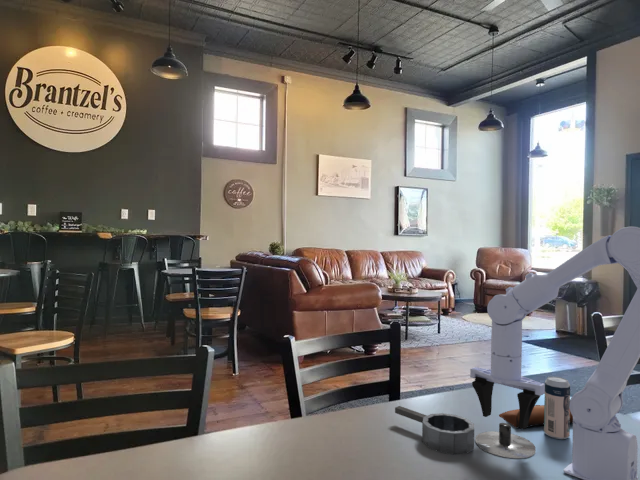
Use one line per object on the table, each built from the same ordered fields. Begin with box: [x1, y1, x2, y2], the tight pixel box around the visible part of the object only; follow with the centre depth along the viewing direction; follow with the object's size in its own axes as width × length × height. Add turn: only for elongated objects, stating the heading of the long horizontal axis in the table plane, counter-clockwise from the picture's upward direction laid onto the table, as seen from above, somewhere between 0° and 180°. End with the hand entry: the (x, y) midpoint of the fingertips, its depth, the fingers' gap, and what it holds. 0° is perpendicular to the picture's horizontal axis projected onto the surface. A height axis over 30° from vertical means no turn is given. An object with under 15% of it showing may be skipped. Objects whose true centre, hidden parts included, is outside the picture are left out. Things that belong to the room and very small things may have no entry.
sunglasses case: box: [498, 404, 573, 429], centre depth 104 cm, size 18×7×7 cm, turn 101°
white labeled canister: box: [543, 376, 571, 440], centre depth 96 cm, size 5×5×12 cm
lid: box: [474, 422, 537, 459], centre depth 91 cm, size 11×11×4 cm
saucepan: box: [394, 405, 475, 455], centre depth 95 cm, size 18×10×4 cm, turn 42°
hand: (504, 421), depth 91 cm, fingers open, 7 cm apart
